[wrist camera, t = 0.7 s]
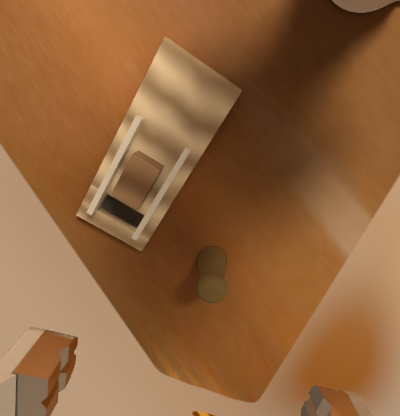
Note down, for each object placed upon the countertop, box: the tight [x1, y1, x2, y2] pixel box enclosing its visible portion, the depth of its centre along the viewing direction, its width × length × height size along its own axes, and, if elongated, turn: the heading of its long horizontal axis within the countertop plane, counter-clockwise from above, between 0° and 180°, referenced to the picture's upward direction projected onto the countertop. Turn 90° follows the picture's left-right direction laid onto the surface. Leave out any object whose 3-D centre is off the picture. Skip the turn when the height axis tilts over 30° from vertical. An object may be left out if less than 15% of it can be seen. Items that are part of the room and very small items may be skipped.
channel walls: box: [86, 116, 191, 240], centre depth 47 cm, size 19×10×2 cm, turn 148°
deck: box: [76, 37, 242, 252], centre depth 48 cm, size 34×14×2 cm, turn 148°
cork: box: [196, 247, 227, 303], centre depth 50 cm, size 6×6×11 cm
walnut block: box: [111, 151, 164, 210], centre depth 46 cm, size 8×5×4 cm, turn 148°
